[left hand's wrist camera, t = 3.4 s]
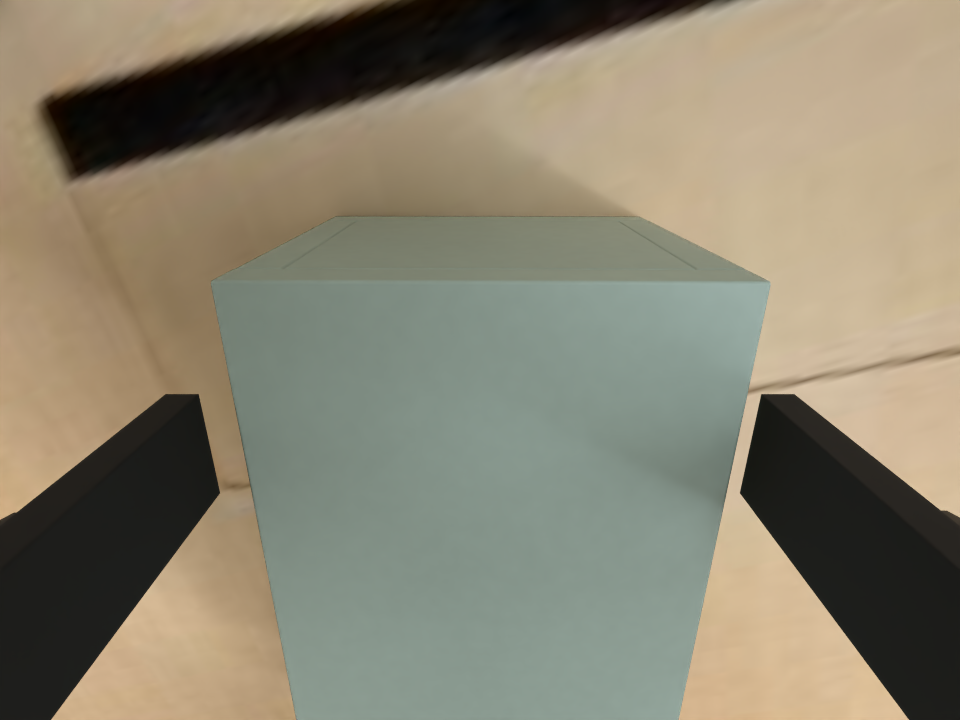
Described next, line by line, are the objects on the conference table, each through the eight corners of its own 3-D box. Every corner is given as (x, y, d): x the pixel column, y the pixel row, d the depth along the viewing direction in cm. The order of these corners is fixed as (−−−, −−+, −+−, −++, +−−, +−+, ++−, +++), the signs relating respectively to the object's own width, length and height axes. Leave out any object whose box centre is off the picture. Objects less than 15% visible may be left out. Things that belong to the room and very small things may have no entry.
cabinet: (591, 664, 27) (640, 905, 18) (379, 663, 27) (331, 902, 18) (641, 216, 18) (773, 281, 10) (333, 216, 18) (208, 280, 10)
